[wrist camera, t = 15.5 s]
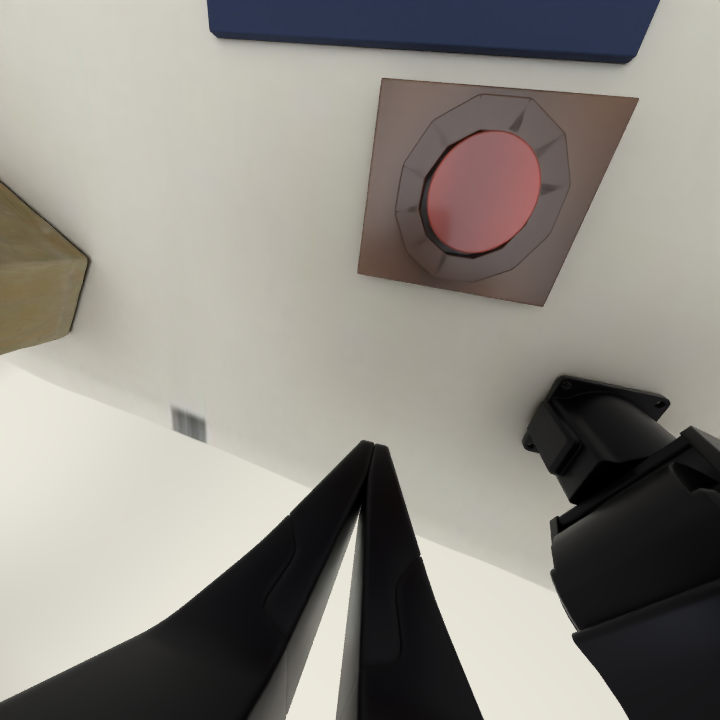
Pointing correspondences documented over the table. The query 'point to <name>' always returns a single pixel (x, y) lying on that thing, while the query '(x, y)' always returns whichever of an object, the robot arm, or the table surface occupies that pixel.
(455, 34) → the pad
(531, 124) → the button block
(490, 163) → the button
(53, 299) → the caddy
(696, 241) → the table surface
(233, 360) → the table surface
